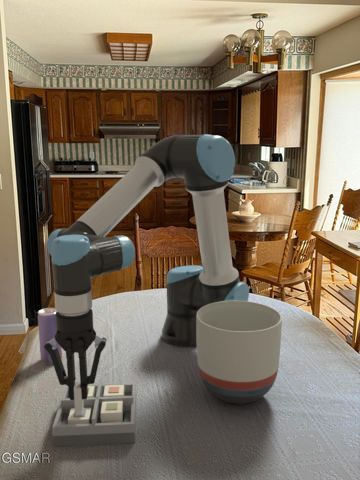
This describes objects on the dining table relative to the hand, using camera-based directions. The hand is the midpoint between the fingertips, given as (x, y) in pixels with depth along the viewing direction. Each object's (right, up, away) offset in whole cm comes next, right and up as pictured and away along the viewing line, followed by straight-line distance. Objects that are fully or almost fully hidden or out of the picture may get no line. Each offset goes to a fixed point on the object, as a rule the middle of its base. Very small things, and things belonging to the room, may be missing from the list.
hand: (79, 411), depth 104 cm
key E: (0, -1, +7) cm, 7 cm away
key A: (+7, -1, +8) cm, 10 cm away
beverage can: (-15, +2, +34) cm, 38 cm away
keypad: (+3, -4, +5) cm, 7 cm away
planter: (+36, -2, +15) cm, 39 cm away
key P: (+7, -2, +1) cm, 7 cm away
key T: (0, -4, +1) cm, 4 cm away
